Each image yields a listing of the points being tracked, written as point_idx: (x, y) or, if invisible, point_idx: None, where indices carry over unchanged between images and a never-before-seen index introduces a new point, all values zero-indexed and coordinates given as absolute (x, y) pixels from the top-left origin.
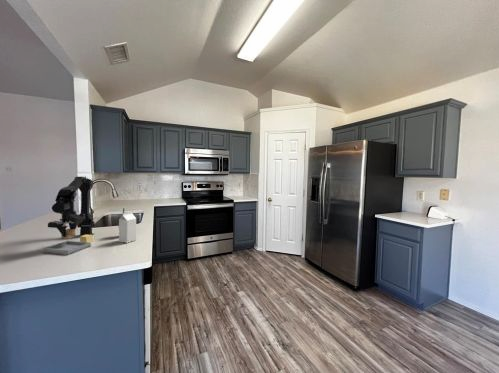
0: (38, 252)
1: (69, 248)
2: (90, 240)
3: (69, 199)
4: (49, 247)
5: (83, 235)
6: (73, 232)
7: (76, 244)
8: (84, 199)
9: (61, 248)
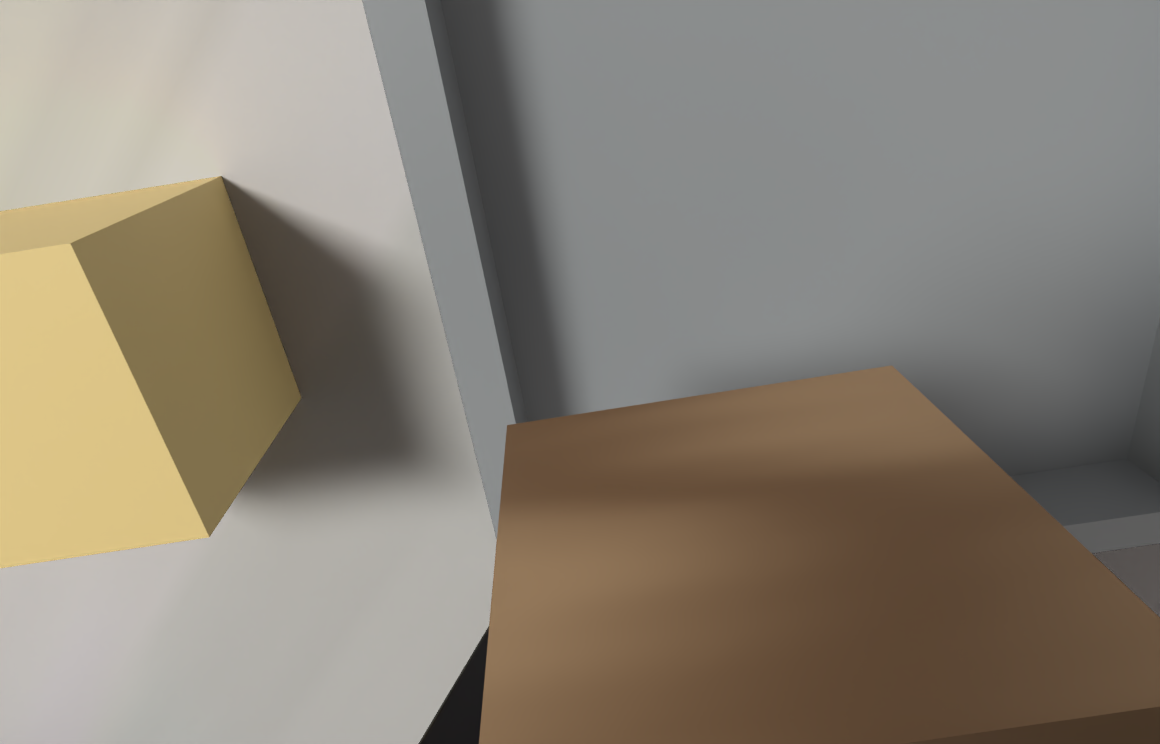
0: (1108, 560)
1: (862, 77)
2: (9, 217)
3: None
4: (1082, 507)
5: (55, 546)
6: (620, 587)
7: (496, 271)
8: None
9: (903, 312)
